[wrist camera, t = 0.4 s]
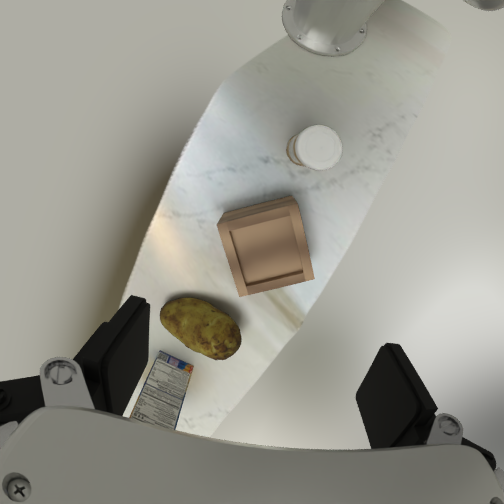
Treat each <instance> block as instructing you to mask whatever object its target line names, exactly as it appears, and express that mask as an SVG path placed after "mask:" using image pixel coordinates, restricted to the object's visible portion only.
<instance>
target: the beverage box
mask: <svg viewBox="0 0 504 504" xmlns="http://www.w3.org/2000/svg"><path fill="white" fill-rule="evenodd" d="M193 367H194V366H193V365H190V364H188V363H186V362H184V361H181V360H179V359H177V358H175V357H173V356H171V355H168V354H166V353H164V352H162V351H159V353H158V356H157V358H156V360H155V362H154V364H153V366H152V368H151V371H150V373H149V375H148V377H147V379H146V381H145V384H144V386H143V388H142V390H141V392H140V395H139V397H138V399H137V401H136V404H135V406H134V408H133V410H132V413H131V415H130V417H129V418H131V419H134V420H138V421H141V422H145V423H148V424H152V425H156V426H160V427H164V428H168V429H172V430H175V429H176V425H177V422H178V418H179V415H180V411H181V408H182V404H183V401H184V397H185V394H186V390H187V387H188V384H189V380H190V377H191V373H192V370H193Z"/></svg>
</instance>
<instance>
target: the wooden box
mask: <svg viewBox="0 0 504 504" xmlns="http://www.w3.org/2000/svg"><path fill="white" fill-rule="evenodd" d="M217 227H218V230H219V234H220V237H221V240H222V243H223V247H224V250H225V253H226V256H227V259H228V262H229V266H230V269H231V272H232V275H233V278H234V281H235V284H236V288H237V291H238V294H239V297H242V296H246V295H250V294H255V293H259V292H263V291H268V290H272V289H276V288H280V287H284V286H288V285H293V284H297V283H301V282H305V281H309V280H313V279H314V274H313V269H312V264H311V259H310V255H309V250H308V246H307V241H306V237H305V232H304V228H303V224H302V219H301V215H300V211H299V207H298V203H297V202H296V200H295V199H294V198H293V196H288V197H284V198H280V199H276V200H272V201H268V202H264V203H260V204H256V205H253V206H249V207H245V208H241V209H237V210H234V211H230V212H226V213H224V214H223V215H222V217H221V218H220V220H219V222H218V223H217Z"/></svg>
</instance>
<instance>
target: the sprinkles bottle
mask: <svg viewBox="0 0 504 504" xmlns="http://www.w3.org/2000/svg"><path fill="white" fill-rule="evenodd" d="M286 151H287V155H288V157H289V159H290V160H291V161H292V162H293V163H295V164H296V165H300V166H305V167H308V168H310V169H313V170H327V169H329V168H331V167H333V166H334V165H336V164H337V163H338V161H339V160H340V158H341V155H342V142H341V139H340V137H339V136H338V134H337V133H336V132H335V131H334V130H333V129H331V128H330V127H327V126H324V125H313V126H310V127H308V128H306V129H304V130H303V131H302V132H301V133H299V134H297V135H295V136H294V137H292V138H291V139H290V140H289V142H288V144H287V149H286Z"/></svg>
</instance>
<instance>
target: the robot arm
mask: <svg viewBox="0 0 504 504" xmlns="http://www.w3.org/2000/svg"><path fill="white" fill-rule="evenodd" d="M384 1H385V0H287V1H286V3H285V4H284V7H283V11H282V21H283V25H284V27H285V30H286V32H287V33H288V35H289V36H290V37H291V38H292V39H293V41H294V42H296V43H297V44H298V45H300V46H301V47H303V48H304V49H306V50H308V51H310V52H313V53H315V54H319V55H324V56H341V55H345V54H348V53H350V52H352V51H354V50H355V49H356V48H358V47H359V46H360V45H361V43H362V42H363V40H364V39H365V36H366V33H367V24H366V21H367V20H368V19H369V18H370V17H371V15H372V14H373V13H374V12H375V11H376V10H377V9H378V7H379V6H380V5H381V4H382V3H383V2H384ZM463 1H465V2H466V3H468V4H470V5H471V6H473V7H475V8H478V9H481V10H485V11H495V10H499V9H501V8H503V7H504V0H463ZM287 9H289V10H287ZM360 32H361V33H360ZM299 38H300V39H301V40H299ZM336 50H337V51H338V52H337V51H336ZM149 319H150V304H149V303H146V299H145V298H141V297H137V296H133V295H131V296H130V297H129V298H128V299H127V301H126V302H125V303H124V304H123V305H122V307H121V308H120V309H119V310H118V311H117V313H116V314H115V315H114V316H113V317H112V319H111V320H110V321H109V322H104V323H102V324H101V325H100V326H99V328H98V329H97V330H96V331H95V333H94V334H93V335H92V336H91V337H90V339H89V340H88V341H87V342H86V344H85V345H84V346H83V347H82V349H81V350H80V351H79V352H78V354H77V355H76V356H75V357H74V359H73V360H72V359H70V358H66V357H55V358H51V359H49V360H47V361H46V362H45V363H44V364H43V365H42V366H41V368H40V375H38V376H33V377H27V378H21V379H14V380H8V381H2V382H0V504H504V471H503V470H502V469H500V468H497V469H495V468H496V461H495V458H494V456H493V454H492V453H491V452H489V451H487V450H486V449H483V448H482V447H480V446H478V445H476V444H474V443H472V442H471V441H469V440H467V439H465V438H463V437H462V435H463V427H462V424H461V423H460V421H459V420H458V419H457V418H456V417H454V416H452V415H450V414H446V413H442V414H439V415H437V416H435V414H434V413H435V412H436V411H437V409H438V408H437V406H436V404H435V402H434V401H433V399H432V397H431V396H430V394H429V392H428V390H427V389H426V387H425V385H424V383H423V382H422V380H421V378H420V377H419V375H418V373H417V372H416V370H415V368H414V367H413V365H412V364H411V362H410V360H409V359H408V357H407V355H406V354H405V352H404V351H403V349H402V347H401V346H400V345H399V344H393V343H386V344H385V345H384V346H381V348H380V349H379V351H378V353H377V355H376V357H375V359H374V361H373V363H372V365H371V367H370V369H369V371H368V373H367V374H366V376H365V378H364V380H363V382H362V384H361V385H360V387H359V389H358V391H357V393H356V401H357V404H358V407H359V411H360V413H361V417H362V420H363V423H364V426H365V429H366V432H367V436H368V439H369V442H370V446H371V449H357V450H324V449H323V450H322V449H298V448H284V447H273V446H262V445H255V444H247V443H240V442H233V441H226V440H220V439H214V438H209V437H204V436H199V435H194V434H190V433H185V432H181V431H177V430H172V429H168V428H164V427H160V426H156V425H152V424H148V423H145V422H141V421H138V420H134V419H131V418H127V417H123V413H124V411H125V409H126V407H127V405H128V403H129V401H130V399H131V396H132V394H133V392H134V390H135V388H136V386H137V384H138V382H139V380H140V378H141V376H142V374H143V371H144V369H145V367H146V365H147V362H148V350H149Z"/></svg>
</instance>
